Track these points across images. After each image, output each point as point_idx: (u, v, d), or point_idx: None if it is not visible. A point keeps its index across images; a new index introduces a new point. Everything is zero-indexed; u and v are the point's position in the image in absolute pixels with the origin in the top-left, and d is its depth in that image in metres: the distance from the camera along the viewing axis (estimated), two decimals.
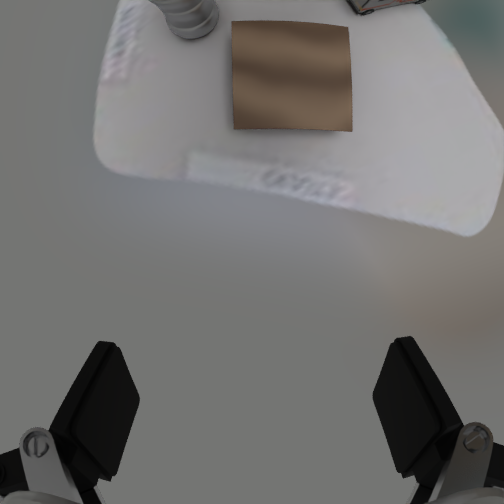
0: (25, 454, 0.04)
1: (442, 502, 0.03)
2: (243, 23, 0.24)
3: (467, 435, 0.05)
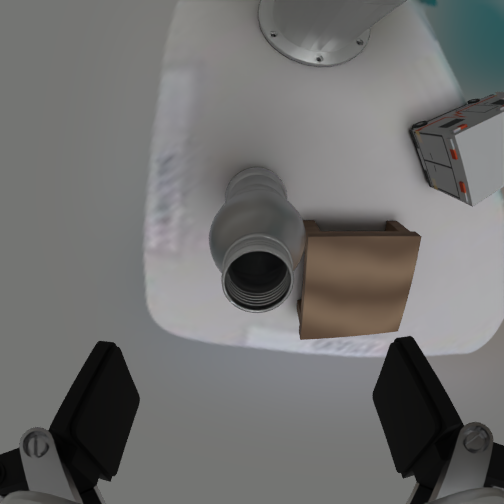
0: (25, 454, 0.04)
1: (443, 502, 0.02)
2: (320, 239, 0.28)
3: (467, 435, 0.05)
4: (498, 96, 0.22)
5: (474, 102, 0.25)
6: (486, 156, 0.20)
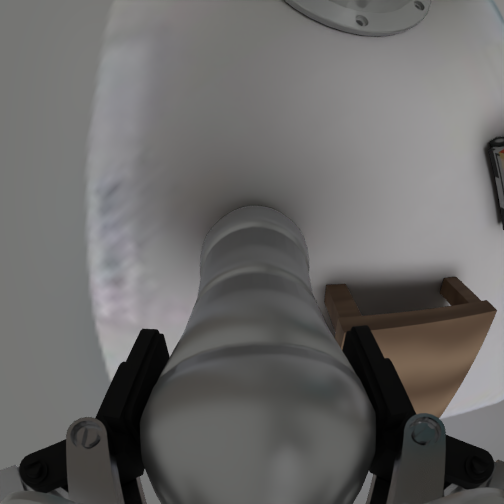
0: (74, 446, 0.05)
1: (442, 502, 0.03)
2: None
3: (414, 428, 0.05)
4: None
5: None
6: None
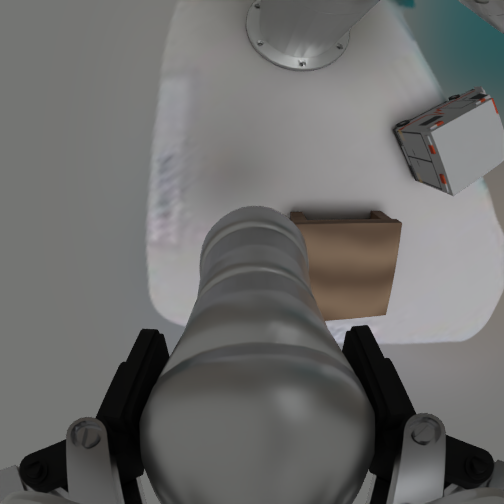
0: (74, 446, 0.05)
1: (443, 502, 0.02)
2: (306, 227, 0.31)
3: (414, 428, 0.05)
4: (477, 91, 0.25)
5: (454, 98, 0.28)
6: (463, 149, 0.24)
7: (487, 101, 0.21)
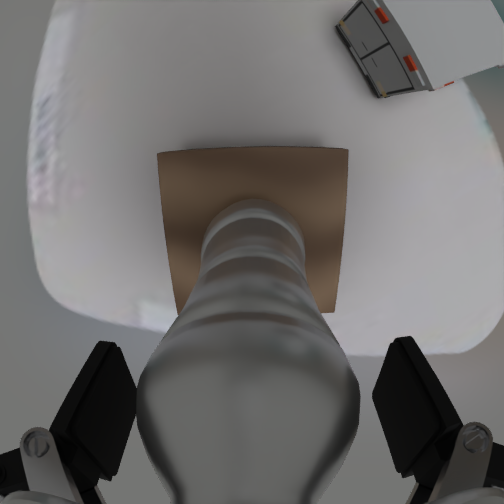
0: (25, 454, 0.04)
1: (443, 502, 0.02)
2: (175, 156, 0.19)
3: (466, 435, 0.05)
4: None
5: None
6: (439, 20, 0.11)
7: None
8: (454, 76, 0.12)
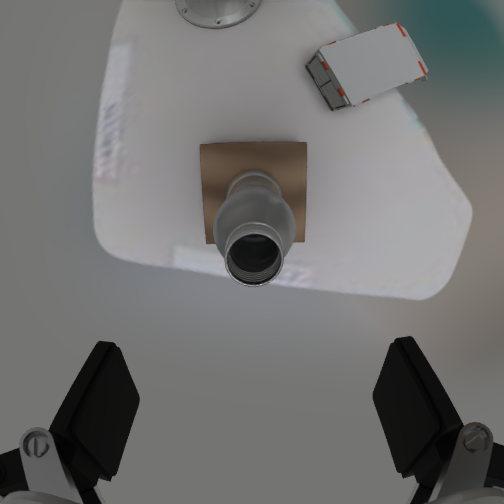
0: (25, 454, 0.04)
1: (443, 502, 0.02)
2: (210, 146, 0.34)
3: (467, 435, 0.05)
4: None
5: None
6: (360, 63, 0.26)
7: None
8: (367, 96, 0.27)
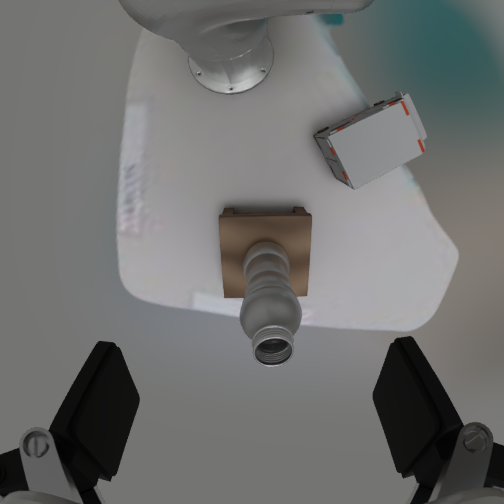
0: (25, 454, 0.04)
1: (442, 502, 0.03)
2: (227, 219, 0.41)
3: (467, 435, 0.05)
4: (397, 95, 0.34)
5: (377, 104, 0.37)
6: (364, 148, 0.33)
7: (395, 104, 0.30)
8: (368, 180, 0.34)
